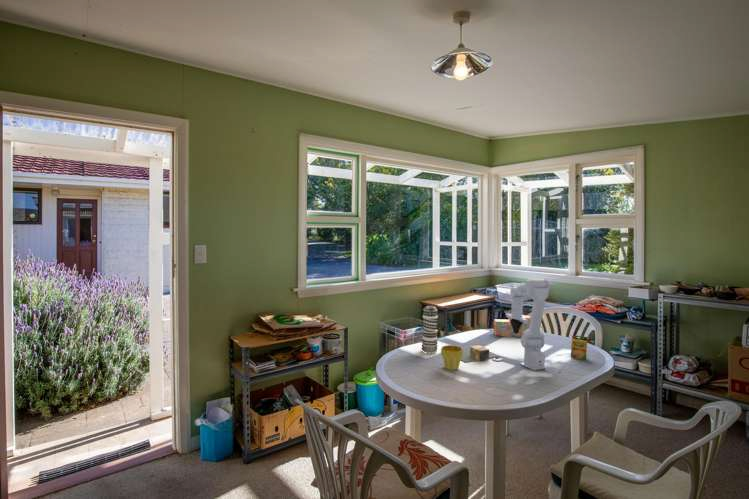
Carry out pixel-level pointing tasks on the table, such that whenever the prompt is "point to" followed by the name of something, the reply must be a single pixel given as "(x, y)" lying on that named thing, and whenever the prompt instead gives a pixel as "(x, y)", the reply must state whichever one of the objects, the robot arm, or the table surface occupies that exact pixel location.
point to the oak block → (479, 352)
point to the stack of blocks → (509, 327)
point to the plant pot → (451, 356)
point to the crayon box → (579, 347)
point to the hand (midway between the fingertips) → (516, 333)
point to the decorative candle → (429, 329)
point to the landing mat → (468, 358)
